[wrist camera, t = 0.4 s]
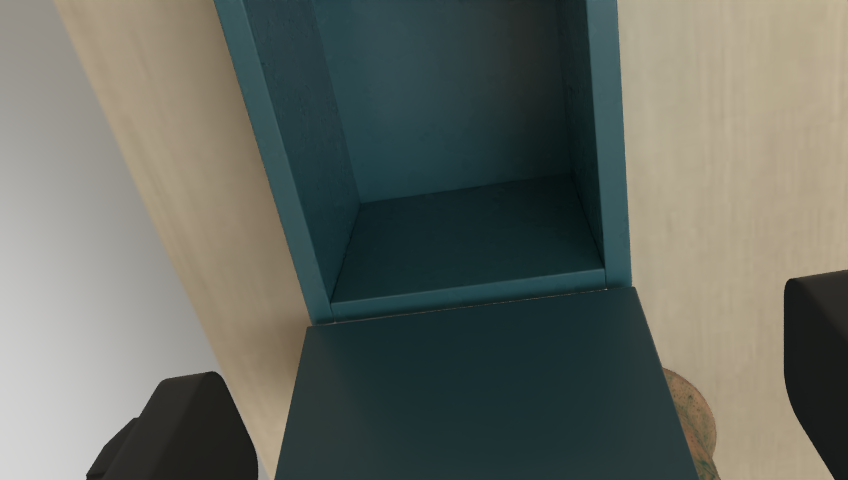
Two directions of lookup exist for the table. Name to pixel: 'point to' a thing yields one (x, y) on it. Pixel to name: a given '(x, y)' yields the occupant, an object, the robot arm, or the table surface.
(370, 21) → the teal storage bin
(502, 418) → the lid
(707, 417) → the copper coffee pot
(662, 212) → the table surface
